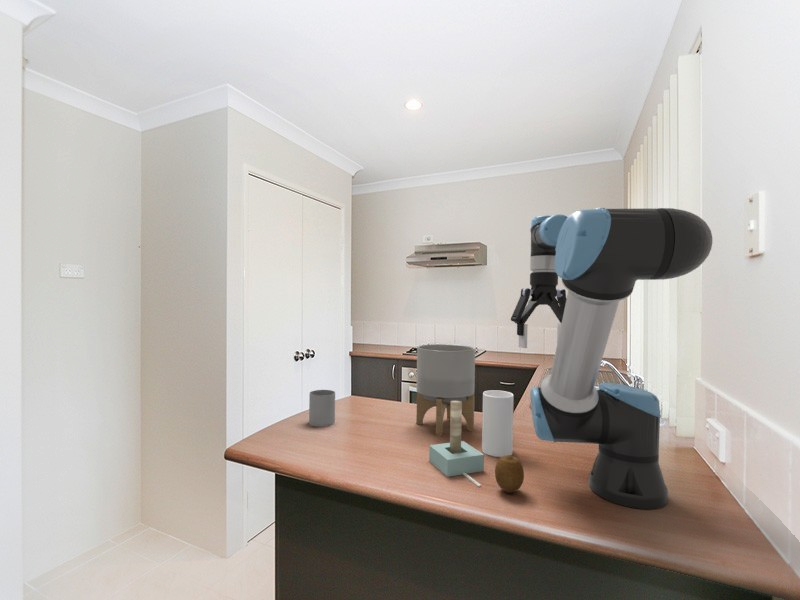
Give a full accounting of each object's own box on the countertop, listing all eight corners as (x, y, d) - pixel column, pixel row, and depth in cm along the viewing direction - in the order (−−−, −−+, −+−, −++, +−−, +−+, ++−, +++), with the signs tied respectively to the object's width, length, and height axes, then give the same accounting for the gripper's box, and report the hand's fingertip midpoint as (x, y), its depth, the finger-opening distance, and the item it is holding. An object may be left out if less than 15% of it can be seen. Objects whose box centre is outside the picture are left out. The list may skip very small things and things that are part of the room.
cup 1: (308, 419, 140) (308, 390, 140) (332, 418, 142) (333, 389, 142) (310, 427, 132) (311, 396, 132) (336, 425, 134) (336, 394, 134)
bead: (483, 470, 101) (483, 454, 101) (447, 476, 97) (447, 459, 97) (463, 455, 110) (463, 440, 110) (429, 460, 107) (429, 445, 107)
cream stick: (481, 486, 93) (481, 485, 93) (478, 487, 92) (478, 485, 92) (465, 473, 99) (465, 472, 99) (462, 474, 99) (462, 472, 99)
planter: (424, 415, 147) (425, 342, 147) (477, 421, 141) (478, 345, 141) (408, 432, 129) (410, 349, 129) (469, 439, 123) (470, 352, 123)
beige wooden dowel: (462, 466, 103) (463, 403, 103) (452, 468, 102) (454, 404, 102) (457, 462, 106) (458, 400, 106) (447, 464, 105) (448, 401, 105)
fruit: (488, 491, 91) (489, 454, 90) (504, 482, 95) (504, 447, 95) (514, 501, 86) (515, 463, 86) (529, 491, 90) (529, 455, 90)
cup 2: (513, 458, 109) (514, 398, 109) (481, 455, 111) (482, 396, 111) (511, 447, 117) (512, 391, 117) (482, 444, 119) (483, 389, 119)
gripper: (568, 274, 125) (567, 344, 125) (499, 270, 116) (497, 346, 116) (588, 272, 118) (586, 347, 118) (515, 269, 109) (514, 349, 109)
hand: (542, 346), depth 117 cm, fingers open, 13 cm apart
